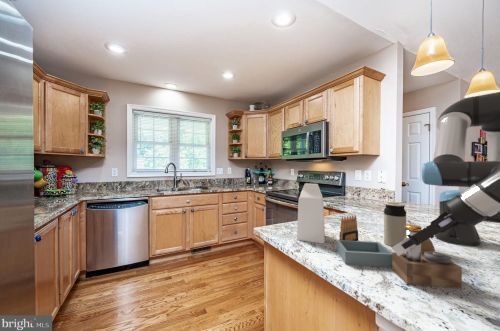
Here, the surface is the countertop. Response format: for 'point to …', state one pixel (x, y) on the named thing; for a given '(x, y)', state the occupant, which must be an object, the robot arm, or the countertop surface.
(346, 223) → the ammunition clip
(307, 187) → the milk
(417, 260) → the pin
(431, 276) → the block
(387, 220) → the travel mug
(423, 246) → the natural sponge
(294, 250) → the countertop surface
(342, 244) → the tray
